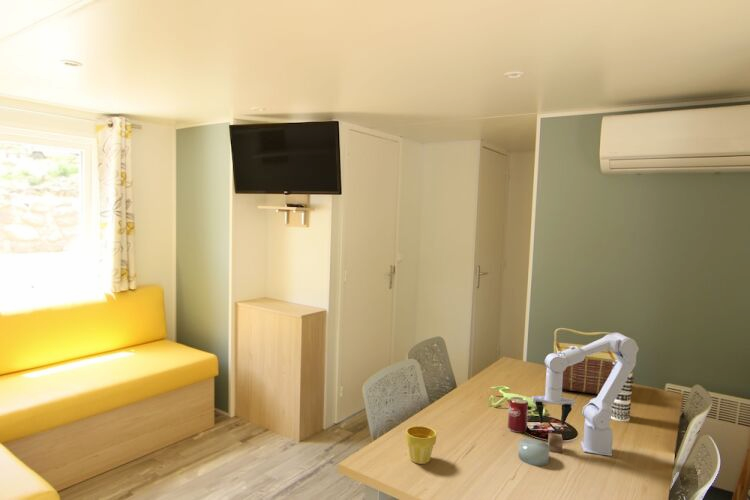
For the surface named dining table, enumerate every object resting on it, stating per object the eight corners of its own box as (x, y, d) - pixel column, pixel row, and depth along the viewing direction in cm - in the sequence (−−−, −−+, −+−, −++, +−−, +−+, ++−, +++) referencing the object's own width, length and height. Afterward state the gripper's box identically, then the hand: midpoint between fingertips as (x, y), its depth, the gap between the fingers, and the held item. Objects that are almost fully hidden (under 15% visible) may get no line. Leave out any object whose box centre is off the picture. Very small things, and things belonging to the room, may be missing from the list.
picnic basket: (552, 393, 234) (556, 332, 232) (549, 376, 259) (553, 322, 257) (618, 401, 226) (622, 339, 224) (608, 384, 251) (612, 327, 249)
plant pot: (415, 449, 171) (417, 422, 171) (440, 459, 165) (442, 431, 164) (398, 459, 163) (400, 431, 163) (424, 470, 157) (425, 441, 156)
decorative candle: (606, 418, 205) (610, 361, 204) (607, 411, 213) (611, 356, 212) (630, 423, 201) (635, 365, 199) (630, 416, 209) (634, 360, 208)
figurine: (492, 393, 232) (493, 382, 231) (550, 405, 219) (551, 393, 218) (481, 405, 215) (482, 393, 215) (543, 419, 203) (544, 407, 202)
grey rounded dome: (547, 454, 171) (548, 441, 171) (549, 468, 162) (550, 454, 161) (518, 450, 174) (519, 436, 174) (519, 463, 164) (519, 449, 164)
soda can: (513, 433, 187) (515, 404, 186) (504, 426, 194) (505, 397, 193) (530, 432, 189) (532, 402, 188) (519, 424, 196) (521, 396, 195)
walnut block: (560, 447, 177) (561, 434, 177) (562, 453, 173) (562, 439, 172) (547, 445, 178) (548, 432, 178) (548, 451, 174) (549, 437, 174)
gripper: (571, 384, 178) (569, 420, 179) (531, 381, 180) (529, 416, 181) (576, 391, 171) (574, 428, 172) (534, 388, 173) (532, 424, 174)
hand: (551, 423), depth 176 cm, fingers open, 7 cm apart
